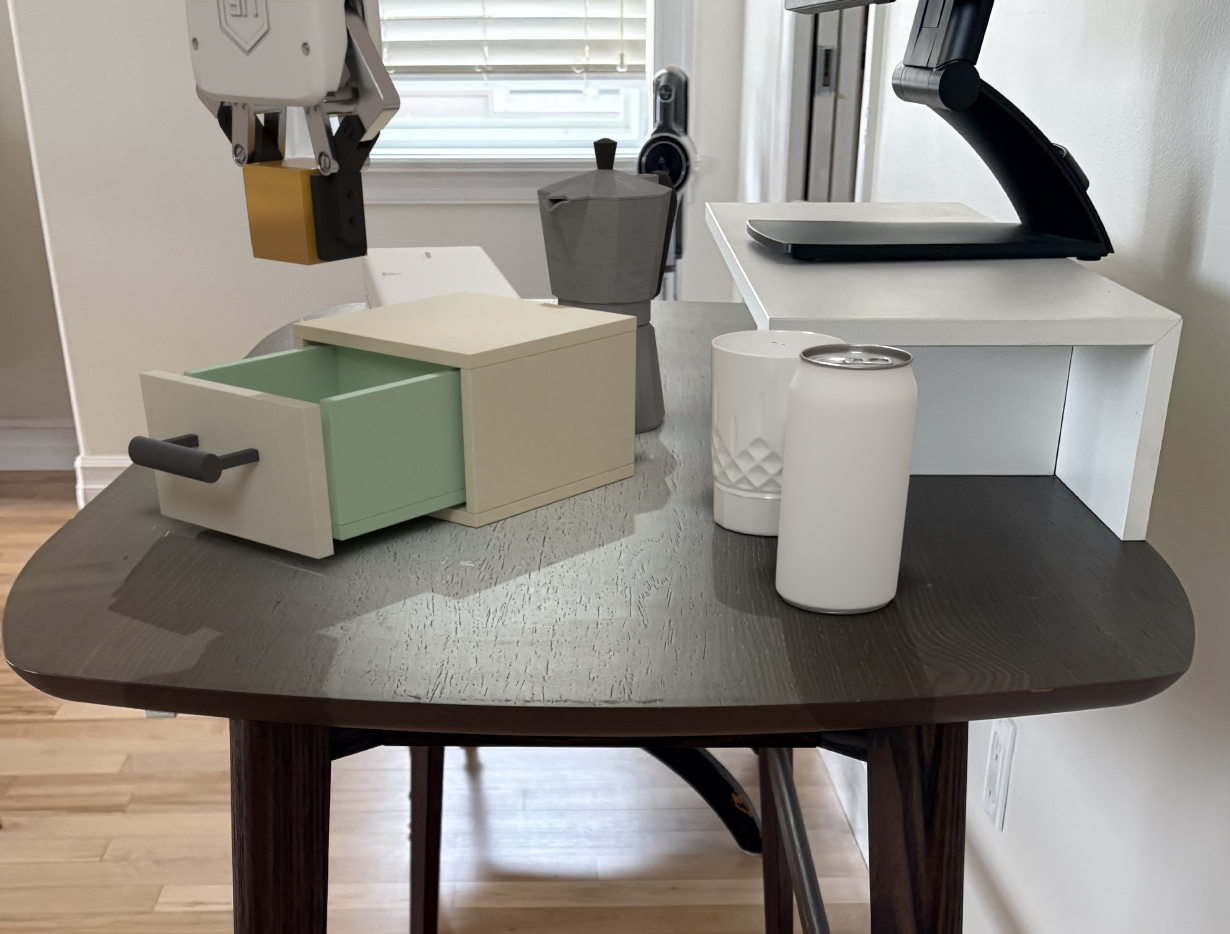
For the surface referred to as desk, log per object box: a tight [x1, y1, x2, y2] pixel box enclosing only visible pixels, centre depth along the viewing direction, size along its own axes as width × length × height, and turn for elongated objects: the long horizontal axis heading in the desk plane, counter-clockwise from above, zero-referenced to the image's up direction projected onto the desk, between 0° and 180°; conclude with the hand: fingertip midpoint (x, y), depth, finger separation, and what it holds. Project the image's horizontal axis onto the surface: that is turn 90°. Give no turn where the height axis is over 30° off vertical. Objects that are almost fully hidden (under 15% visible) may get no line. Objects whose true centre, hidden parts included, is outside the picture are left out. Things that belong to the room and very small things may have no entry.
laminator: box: [361, 245, 522, 310], centre depth 134 cm, size 34×12×6 cm, turn 10°
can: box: [775, 343, 919, 616], centre depth 81 cm, size 6×6×12 cm
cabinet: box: [291, 291, 637, 528], centre depth 100 cm, size 16×15×10 cm
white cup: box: [710, 329, 849, 537], centre depth 93 cm, size 8×8×10 cm
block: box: [242, 157, 368, 266], centre depth 85 cm, size 4×4×4 cm
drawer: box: [127, 343, 466, 560], centre depth 91 cm, size 19×13×8 cm
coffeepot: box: [536, 137, 678, 434], centre depth 112 cm, size 15×9×18 cm, turn 146°
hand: (309, 249), depth 86 cm, fingers closed on block, 4 cm apart
